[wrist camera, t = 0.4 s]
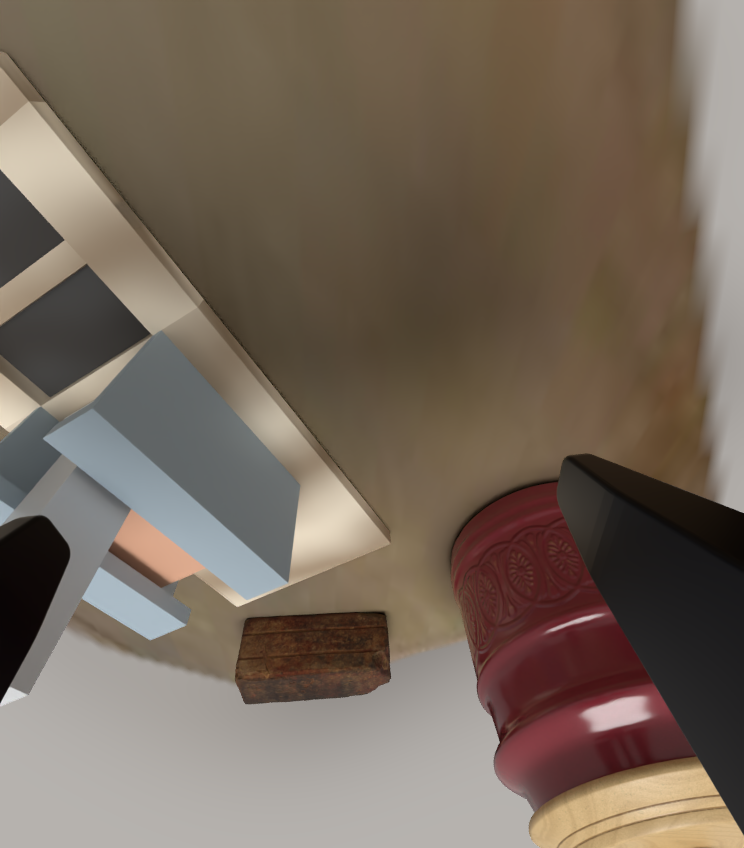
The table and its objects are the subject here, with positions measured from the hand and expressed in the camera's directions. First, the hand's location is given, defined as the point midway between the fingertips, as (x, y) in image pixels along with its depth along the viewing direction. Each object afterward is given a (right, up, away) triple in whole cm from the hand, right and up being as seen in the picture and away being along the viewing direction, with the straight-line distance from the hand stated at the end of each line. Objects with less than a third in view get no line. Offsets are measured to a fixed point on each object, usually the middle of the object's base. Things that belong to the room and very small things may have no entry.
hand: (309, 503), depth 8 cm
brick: (-3, -14, +27) cm, 30 cm away
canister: (+13, -7, +22) cm, 27 cm away
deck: (-10, +2, +15) cm, 18 cm away
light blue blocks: (-9, +1, +16) cm, 18 cm away
